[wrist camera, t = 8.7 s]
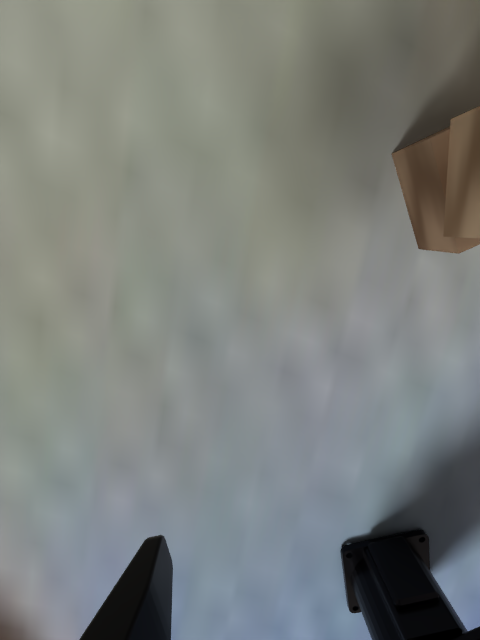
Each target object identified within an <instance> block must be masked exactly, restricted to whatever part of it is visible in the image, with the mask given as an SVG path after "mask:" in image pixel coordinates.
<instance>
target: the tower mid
mask: <svg viewBox="0 0 480 640" xmlns="http://www.w3.org/2000/svg"><path fill="white" fill-rule="evenodd" d="M443 237H462V238H480V106H479V107H477V108H474V109H472V110H470V111H468V112H466V113H463V114H461V115H459V116H457V117H454V118H452V119H451V122H450V138H449V154H448V169H447V185H446V201H445V217H444V233H443Z"/></svg>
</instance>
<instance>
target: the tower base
mask: <svg viewBox="0 0 480 640" xmlns="http://www.w3.org/2000/svg"><path fill="white" fill-rule="evenodd" d="M449 138H450V127H448V128H446V129H443V130H441V131H439V132H437V133H435V134H433V135H431V136H428V137H426V138H424V139H422V140H420V141H418V142H416V143H414V144H411V145H409V146H407V147H405V148H403V149H401V150H399V151H396V152H394V153H392V157H393V160H394V164H395V167H396V171H397V174H398V178H399V181H400V185H401V188H402V192H403V195H404V199H405V202H406V206H407V209H408V213H409V217H410V220H411V224H412V227H413V231H414V234H415V238H416V241H417V245H418V248H419V249H423V250H432V251H441V252H450V253H461V252H463V251H466V250H468V249H470V248H472V247H475V246H477V245H479V244H480V238H462V237H443V233H444V217H445V201H446V185H447V169H448V154H449Z"/></svg>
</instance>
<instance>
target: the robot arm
mask: <svg viewBox="0 0 480 640" xmlns="http://www.w3.org/2000/svg"><path fill="white" fill-rule="evenodd" d="M341 559H342V567H343V574H344V582H345V590H346V598H347V605H348V608H349V610H350V612H351V613H359V612H362V614H363V617H364V620H365V622H366V625H367V627H368V630H369V633H370V635H371V638H372V640H480V627H477V628H475V629H473V630H470V631H467V630H466V628H465V626H464V625H463V623H462V622H461V620H460V618H459V617H458V615H457V614H456V612H455V610H454V609H453V607H452V606H451V604H450V602H449V601H448V599H447V598H446V596H445V594H444V593H443V591H442V590H441V588H440V586H439V585H438V583H437V582H436V580H435V578H434V577H433V575H432V574H431V572H430V563H429V538H428V536H427V534H426V533H425V531H423V530H416V531H411V532H406V533H402V534H397V535H392V536H388V537H383V538H378V539H373V540H369V541H364V542H359V543H355V544H350V545H346V546H344V547H342V549H341ZM172 578H173V565H172V559H171V556H170V553H169V549H168V546H167V543H166V540H165V538H164V536H162V535H159V536H154V537H149V538H147V539H146V540H145V541H144V542H143V544H142V545H141V547H140V548H139V550H138V552H137V553H136V555H135V556H134V558H133V559H132V561H131V562H130V564H129V565H128V567H127V568H126V570H125V571H124V573H123V574H122V576H121V577H120V579H119V580H118V582H117V583H116V585H115V586H114V588H113V589H112V591H111V592H110V594H109V596H108V597H107V599H106V600H105V602H104V603H103V605H102V606H101V608H100V609H99V611H98V612H97V614H96V615H95V617H94V618H93V620H92V621H91V623H90V624H89V626H88V627H87V629H86V630H85V632H84V633H83V635H82V636H81V638H80V640H171V614H172Z"/></svg>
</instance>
